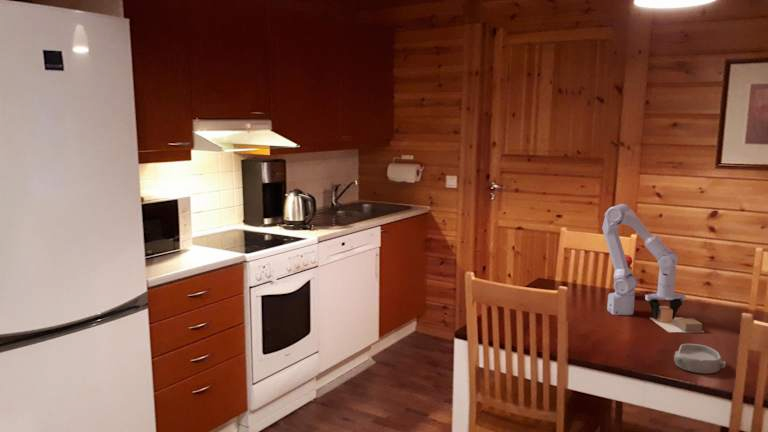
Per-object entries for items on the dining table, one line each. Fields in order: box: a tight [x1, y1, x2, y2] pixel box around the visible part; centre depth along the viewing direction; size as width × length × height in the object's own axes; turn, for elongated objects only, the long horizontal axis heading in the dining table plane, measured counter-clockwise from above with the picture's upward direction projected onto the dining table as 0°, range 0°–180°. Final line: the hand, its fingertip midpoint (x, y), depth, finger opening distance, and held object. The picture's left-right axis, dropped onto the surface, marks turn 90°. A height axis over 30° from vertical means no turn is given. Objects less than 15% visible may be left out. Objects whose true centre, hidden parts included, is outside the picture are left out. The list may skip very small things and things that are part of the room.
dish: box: [673, 343, 727, 374], centre depth 185 cm, size 14×14×5 cm
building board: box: [649, 316, 705, 334], centre depth 218 cm, size 13×16×4 cm
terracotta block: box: [656, 305, 673, 323], centre depth 223 cm, size 4×4×5 cm
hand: (663, 318), depth 223 cm, fingers open, 6 cm apart
